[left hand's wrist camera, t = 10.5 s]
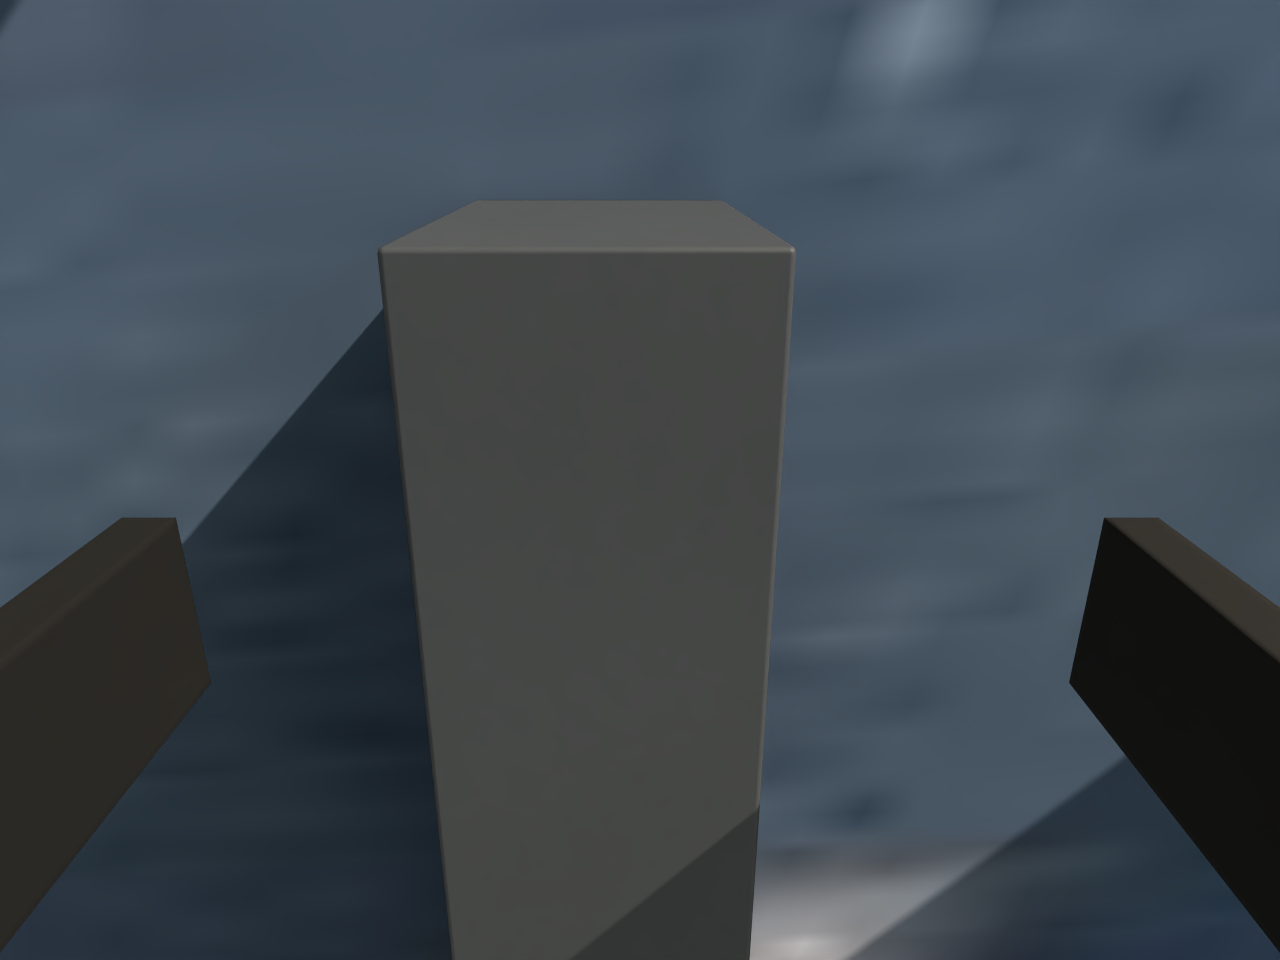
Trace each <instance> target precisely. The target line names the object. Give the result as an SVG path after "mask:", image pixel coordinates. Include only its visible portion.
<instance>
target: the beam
mask: <svg viewBox="0 0 1280 960" xmlns="http://www.w3.org/2000/svg"><path fill="white" fill-rule="evenodd" d="M795 262H796V251H795V248H794V247H792V246H791V245H789V244H788V243H786V242H785V241H783V240H781V239H780V238H778V237H777V236H775V235H774V234H772V233H771V232H769V231H768V230H766V229H764V228H763V227H761V226H760V225H758V224H757V223H755V222H754V221H752V220H750V219H749V218H747V217H746V216H744V215H743V214H741V213H740V212H738V211H737V210H735V209H733V208H732V207H730V206H729V205H727V204H726V203H724V202H722V201H494V200H476V201H474V202H472V203H470V204H468V205H466V206H464V207H462V208H460V209H458V210H456V211H454V212H452V213H450V214H448V215H446V216H444V217H442V218H440V219H437V220H435V221H433V222H431V223H429V224H427V225H425V226H423V227H421V228H419V229H417V230H415V231H413V232H411V233H409V234H407V235H405V236H403V237H401V238H399V239H397V240H395V241H393V242H391V243H389V244H387V245H385V246H383V247H381V248H379V250H378V263H379V272H380V282H381V291H382V301H383V310H384V320H385V329H386V338H387V348H388V357H389V367H390V376H391V386H392V395H393V405H394V414H395V424H396V433H397V443H398V452H399V462H400V471H401V481H402V490H403V500H404V509H405V519H406V528H407V538H408V547H409V557H410V566H411V576H412V585H413V595H414V604H415V614H416V623H417V633H418V642H419V652H420V661H421V671H422V680H423V690H424V699H425V709H426V718H427V728H428V737H429V746H430V756H431V765H432V775H433V784H434V794H435V803H436V813H437V822H438V832H439V841H440V851H441V860H442V870H443V879H444V889H445V898H446V908H447V917H448V927H449V936H450V946H451V955H452V960H749V958H750V943H751V928H752V913H753V898H754V883H755V867H756V852H757V837H758V822H759V807H760V792H761V777H762V761H763V746H764V731H765V716H766V701H767V686H768V671H769V655H770V640H771V625H772V610H773V595H774V580H775V565H776V549H777V534H778V519H779V504H780V489H781V474H782V459H783V444H784V428H785V413H786V398H787V383H788V368H789V353H790V338H791V322H792V307H793V292H794V277H795Z"/></svg>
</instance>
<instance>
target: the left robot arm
mask: <svg viewBox="0 0 1280 960" xmlns="http://www.w3.org/2000/svg"><path fill="white" fill-rule="evenodd" d="M210 683H211V681H210V676H209V672H208V667H207V662H206V658H205V653H204V648H203V643H202V639H201V634H200V629H199V625H198V620H197V615H196V611H195V606H194V601H193V596H192V592H191V587H190V582H189V578H188V573H187V568H186V563H185V559H184V554H183V549H182V545H181V540H180V535H179V531H178V526H177V521H176V518H121V519H119V520H118V521H117V522H115V523H114V524H113V525H111V526H110V527H109V528H107V529H106V530H105V531H103V532H102V533H100V534H99V535H98V536H96V537H95V538H94V539H92V540H91V541H90V542H88V543H87V544H86V545H84V546H83V547H82V548H80V549H79V550H78V551H76V552H75V553H74V554H72V555H71V556H69V557H68V558H67V559H65V560H64V561H63V562H61V563H60V564H59V565H57V566H56V567H55V568H53V569H52V570H51V571H49V572H48V573H47V574H45V575H44V576H42V577H41V578H40V579H38V580H37V581H36V582H34V583H33V584H32V585H30V586H29V587H28V588H26V589H25V590H24V591H22V592H21V593H20V594H18V595H17V596H16V597H14V598H13V599H11V600H10V601H9V602H7V603H6V604H5V605H3V606H2V607H1V608H0V952H1V951H2V949H3V948H4V947H5V946H6V944H7V943H8V942H9V940H10V939H11V938H12V937H13V935H14V934H15V933H16V931H17V930H18V929H19V928H20V926H21V925H22V924H23V922H24V921H25V920H26V919H27V917H28V916H29V915H30V914H31V912H32V911H33V910H34V908H35V907H36V906H37V905H38V903H39V902H40V901H41V899H42V898H43V897H44V896H45V894H46V893H47V892H48V890H49V889H50V888H51V887H52V885H53V884H54V883H55V882H56V880H57V879H58V878H59V876H60V875H61V874H62V873H63V871H64V870H65V869H66V867H67V866H68V865H69V864H70V862H71V861H72V860H73V858H74V857H75V856H76V855H77V853H78V852H79V851H80V850H81V848H82V847H83V846H84V844H85V843H86V842H87V841H88V839H89V838H90V837H91V835H92V834H93V833H94V832H95V830H96V829H97V828H98V826H99V825H100V824H101V823H102V821H103V820H104V819H105V818H106V816H107V815H108V814H109V812H110V811H111V810H112V809H113V807H114V806H115V805H116V803H117V802H118V801H119V800H120V798H121V797H122V796H123V794H124V793H125V792H126V791H127V789H128V788H129V787H130V786H131V784H132V783H133V782H134V780H135V779H136V778H137V777H138V775H139V774H140V773H141V771H142V770H143V769H144V768H145V766H146V765H147V764H148V762H149V761H150V760H151V759H152V757H153V756H154V755H155V754H156V752H157V751H158V750H159V748H160V747H161V746H162V745H163V743H164V742H165V741H166V739H167V738H168V737H169V736H170V734H171V733H172V732H173V730H174V729H175V728H176V727H177V725H178V724H179V723H180V722H181V720H182V719H183V718H184V716H185V715H186V714H187V713H188V711H189V710H190V709H191V707H192V706H193V705H194V704H195V702H196V701H197V700H198V698H199V697H200V696H201V695H202V693H203V692H204V691H205V690H206V688H207V687H208V686H209V684H210ZM1069 683H1070V684H1071V686H1072V687H1073V688H1074V690H1075V691H1076V692H1077V693H1078V695H1079V696H1080V697H1081V698H1082V700H1083V701H1084V702H1085V704H1086V705H1087V706H1088V707H1089V709H1090V710H1091V711H1092V713H1093V714H1094V715H1095V716H1096V718H1097V719H1098V720H1099V722H1100V723H1101V724H1102V725H1103V727H1104V728H1105V729H1106V730H1107V732H1108V733H1109V734H1110V736H1111V737H1112V738H1113V739H1114V741H1115V742H1116V743H1117V745H1118V746H1119V747H1120V748H1121V750H1122V751H1123V752H1124V754H1125V755H1126V756H1127V757H1128V759H1129V760H1130V761H1131V762H1132V764H1133V765H1134V766H1135V768H1136V769H1137V770H1138V771H1139V773H1140V774H1141V775H1142V777H1143V778H1144V779H1145V780H1146V782H1147V783H1148V784H1149V786H1150V787H1151V788H1152V789H1153V791H1154V792H1155V793H1156V794H1157V796H1158V797H1159V798H1160V800H1161V801H1162V802H1163V803H1164V805H1165V806H1166V807H1167V809H1168V810H1169V811H1170V812H1171V814H1172V815H1173V816H1174V818H1175V819H1176V820H1177V821H1178V823H1179V824H1180V825H1181V826H1182V828H1183V829H1184V830H1185V832H1186V833H1187V834H1188V835H1189V837H1190V838H1191V839H1192V841H1193V842H1194V843H1195V844H1196V846H1197V847H1198V848H1199V850H1200V851H1201V852H1202V853H1203V855H1204V856H1205V857H1206V858H1207V860H1208V861H1209V862H1210V864H1211V865H1212V866H1213V867H1214V869H1215V870H1216V871H1217V873H1218V874H1219V875H1220V876H1221V878H1222V879H1223V880H1224V882H1225V883H1226V884H1227V885H1228V887H1229V888H1230V889H1231V890H1232V892H1233V893H1234V894H1235V896H1236V897H1237V898H1238V899H1239V901H1240V902H1241V903H1242V905H1243V906H1244V907H1245V908H1246V910H1247V911H1248V912H1249V914H1250V915H1251V916H1252V917H1253V919H1254V920H1255V921H1256V922H1257V924H1258V925H1259V926H1260V928H1261V929H1262V930H1263V931H1264V933H1265V934H1266V935H1267V937H1268V938H1269V939H1270V940H1271V942H1272V943H1273V944H1274V946H1275V947H1276V948H1277V949H1278V951H1279V952H1280V608H1279V607H1278V606H1277V605H1275V604H1274V603H1273V602H1271V601H1270V600H1269V599H1267V598H1266V597H1264V596H1263V595H1262V594H1260V593H1259V592H1258V591H1256V590H1255V589H1254V588H1252V587H1251V586H1250V585H1248V584H1247V583H1246V582H1244V581H1243V580H1242V579H1240V578H1239V577H1238V576H1236V575H1235V574H1233V573H1232V572H1231V571H1229V570H1228V569H1227V568H1225V567H1224V566H1223V565H1221V564H1220V563H1219V562H1217V561H1216V560H1215V559H1213V558H1212V557H1211V556H1209V555H1208V554H1206V553H1205V552H1204V551H1202V550H1201V549H1200V548H1198V547H1197V546H1196V545H1194V544H1193V543H1192V542H1190V541H1189V540H1188V539H1186V538H1185V537H1184V536H1182V535H1181V534H1180V533H1178V532H1177V531H1175V530H1174V529H1173V528H1171V527H1170V526H1169V525H1167V524H1166V523H1165V522H1163V521H1162V520H1161V519H1159V518H1104V521H1103V526H1102V531H1101V535H1100V540H1099V545H1098V549H1097V554H1096V559H1095V563H1094V568H1093V573H1092V578H1091V582H1090V587H1089V592H1088V596H1087V601H1086V606H1085V611H1084V615H1083V620H1082V625H1081V629H1080V634H1079V639H1078V643H1077V648H1076V653H1075V658H1074V662H1073V667H1072V672H1071V676H1070V681H1069Z"/></svg>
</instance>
